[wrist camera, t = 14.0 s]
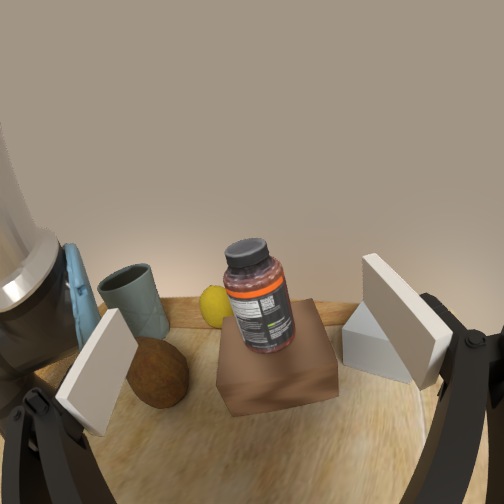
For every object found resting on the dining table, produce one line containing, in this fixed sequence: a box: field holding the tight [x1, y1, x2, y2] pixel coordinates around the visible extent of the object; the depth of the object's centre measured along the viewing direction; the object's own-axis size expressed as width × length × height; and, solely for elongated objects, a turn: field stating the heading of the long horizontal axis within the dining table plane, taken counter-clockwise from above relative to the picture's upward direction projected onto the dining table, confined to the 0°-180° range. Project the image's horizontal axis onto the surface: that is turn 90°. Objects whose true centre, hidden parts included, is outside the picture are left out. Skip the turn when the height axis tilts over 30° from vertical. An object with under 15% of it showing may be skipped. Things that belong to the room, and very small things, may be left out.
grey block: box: [342, 300, 412, 384], centre depth 28 cm, size 9×9×6 cm
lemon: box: [200, 285, 234, 328], centre depth 42 cm, size 6×6×8 cm
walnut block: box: [216, 298, 339, 417], centre depth 31 cm, size 12×12×6 cm
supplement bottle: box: [223, 238, 296, 354], centre depth 27 cm, size 6×6×11 cm
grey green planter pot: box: [97, 264, 170, 340], centre depth 44 cm, size 10×10×12 cm
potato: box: [126, 336, 189, 409], centre depth 31 cm, size 8×12×9 cm
